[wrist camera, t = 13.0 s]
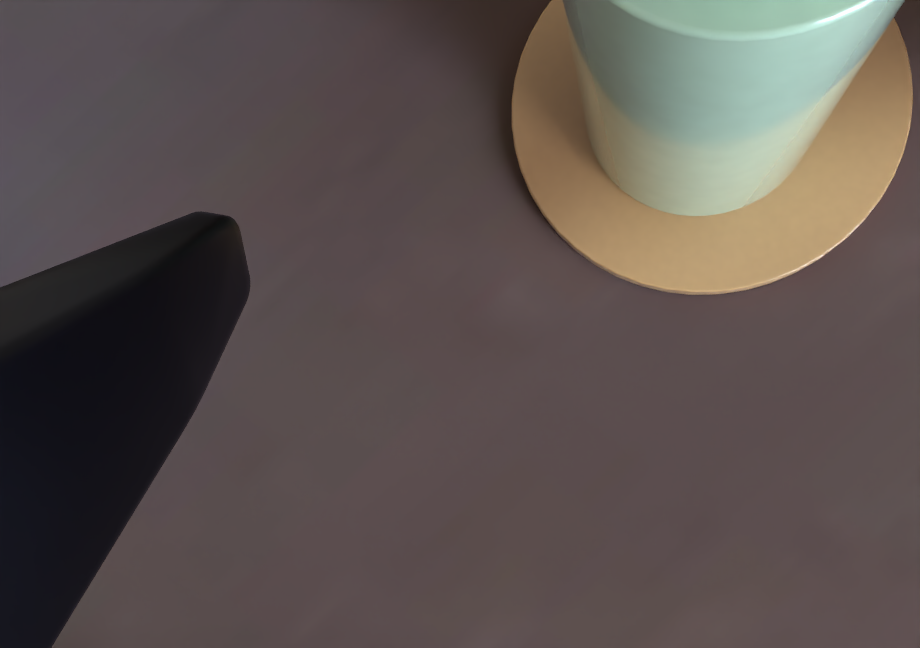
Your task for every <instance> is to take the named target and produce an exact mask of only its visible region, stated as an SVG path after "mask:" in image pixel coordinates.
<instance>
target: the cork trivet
mask: <svg viewBox="0 0 920 648" xmlns="http://www.w3.org/2000/svg"><path fill="white" fill-rule="evenodd" d="M912 105H913V92H912V74H911V69H910V64H909V59H908V53H907V49H906V46H905V44H904V41H903V38H902V35H901V32H900V30H899V27H898V25H897V23H896V21H895V19H894V18H893V19H892V21H891V22H890V24H889V25H888V27H887V28H886V30H885V31H884V33H883V35H882V36H881V38H880V39H879V41H878V42H877V44H876V45H875V47H874V48H873V50H872V51H871V53H870V55H869V56H868V58H867V59H866V61H865V62H864V64H863V65H862V67H861V68H860V70H859V71H858V73H857V75H856V76H855V78H854V79H853V81H852V82H851V84H850V85H849V87H848V88H847V90H846V91H845V93H844V95H843V96H842V98H841V99H840V101H839V102H838V104H837V105H836V107H835V108H834V110H833V111H832V113H831V114H830V116H829V118H828V119H827V121H826V122H825V124H824V125H823V127H822V128H821V130H820V131H819V133H818V134H817V136H816V138H815V139H814V141H813V142H812V144H811V145H810V147H809V148H808V150H807V151H806V153H805V154H804V156H803V158H802V159H801V161H800V162H799V163H798V165H797V166H796V167H795V169H794V170H793V171H792V172H791V174H790V175H789V176H788V177H787V178H786V179H785V180H784V181H783V182H782V183H781V184H780V185H779V186H777V187H776V188H775V189H773V190H772V191H771V192H770V193H768V194H767V195H765V196H764V197H762V198H760V199H758V200H757V201H755V202H753V203H751V204H749V205H746V206H744V207H742V208H739V209H736V210H733V211H729V212H726V213H721V214H715V215H709V216H685V215H676V214H672V213H667V212H663V211H660V210H657V209H654V208H651V207H649V206H647V205H645V204H643V203H641V202H639V201H637V200H635V199H634V198H632V197H631V196H629V195H628V194H626V193H625V192H624V191H622V190H621V189H620V188H619V187H618V186H617V185H616V184H615V183H614V182H613V181H612V180H611V179H610V178H609V176H608V175H607V174H606V173H605V172H604V170H603V169H602V167H601V165H600V164H599V162H598V161H597V159H596V156H595V154H594V152H593V150H592V148H591V144H590V141H589V137H588V134H587V129H586V123H585V118H584V113H583V107H582V102H581V97H580V91H579V86H578V81H577V75H576V70H575V65H574V59H573V54H572V49H571V43H570V38H569V33H568V27H567V22H566V17H565V11H564V6H563V1H562V0H551V2H550V3H549V4H548V6H547V7H546V8H545V10H544V11H543V12H542V14H541V16H540V18H539V19H538V21H537V23H536V25H535V26H534V28H533V30H532V32H531V33H530V36H529V38H528V40H527V43H526V45H525V48H524V50H523V52H522V55H521V58H520V61H519V65H518V69H517V72H516V76H515V81H514V88H513V95H512V114H511V126H512V133H513V141H514V149H515V152H516V156H517V160H518V163H519V167H520V171H521V173H522V175H523V178H524V180H525V182H526V185H527V187H528V189H529V192H530V194H531V196H532V198H533V199H534V201H535V203H536V204H537V206H538V208H539V209H540V211H541V213H542V214H543V216H544V217H545V219H546V220H547V221H548V222H549V224H550V225H551V226H552V227H553V229H554V230H555V231H556V232H557V234H558V235H559V236H560V237H561V238H562V239H564V240H565V241H566V242H567V243H568V244H569V245H570V246H571V247H572V248H573V249H574V250H575V251H576V252H578V253H579V254H580V255H582V256H583V257H585V258H586V259H587V260H589V261H590V262H592V263H593V264H594V265H596V266H598V267H599V268H601V269H603V270H605V271H607V272H609V273H611V274H612V275H614V276H616V277H618V278H621V279H624V280H626V281H629V282H632V283H634V284H637V285H639V286H643V287H647V288H651V289H655V290H660V291H664V292H671V293H680V294H689V295H706V294H723V293H730V292H737V291H744V290H748V289H752V288H755V287H759V286H763V285H766V284H770V283H772V282H775V281H777V280H780V279H782V278H784V277H787V276H789V275H792V274H794V273H796V272H798V271H800V270H801V269H803V268H805V267H807V266H808V265H810V264H812V263H814V262H815V261H817V260H819V259H820V258H821V257H823V256H824V255H825V254H827V253H828V252H829V251H831V250H832V249H833V248H835V247H836V246H837V245H839V244H840V243H841V242H843V241H844V240H845V239H846V238H847V237H848V236H849V235H850V234H851V233H852V232H853V231H854V230H855V229H856V228H857V227H858V226H859V225H860V224H861V223H862V222H863V221H864V220H865V219H866V217H867V216H868V215H869V214H870V212H871V211H872V210H873V208H874V207H875V206H876V205H877V203H878V202H879V201H880V199H881V198H882V196H883V194H884V193H885V191H886V189H887V187H888V186H889V184H890V182H891V181H892V179H893V177H894V175H895V172H896V170H897V168H898V165H899V163H900V160H901V158H902V155H903V153H904V149H905V145H906V142H907V138H908V134H909V130H910V124H911V115H912Z"/></svg>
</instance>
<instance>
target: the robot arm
mask: <svg viewBox="0 0 920 648" xmlns="http://www.w3.org/2000/svg"><path fill="white" fill-rule="evenodd" d="M249 291H250V275H249V271H248V266H247V261H246V256H245V252H244V247H243V242H242V238H241V233H240V229H239V226H238V224H237V223H236V221H235V220H234V219H233V218H231V217H230V216H226V215H220V214H214V213H208V212H194V213H191V214H188V215H186V216H183V217H181V218H178V219H175V220H173V221H170V222H168V223H165V224H163V225H160V226H157V227H155V228H152V229H150V230H147V231H145V232H142V233H139V234H137V235H134V236H132V237H129V238H127V239H124V240H121V241H119V242H116V243H114V244H111V245H109V246H106V247H103V248H101V249H98V250H96V251H93V252H91V253H88V254H85V255H83V256H80V257H78V258H75V259H73V260H70V261H67V262H65V263H62V264H60V265H57V266H55V267H52V268H50V269H47V270H44V271H42V272H39V273H37V274H34V275H32V276H29V277H26V278H24V279H21V280H19V281H16V282H14V283H11V284H8V285H6V286H3V287H1V288H0V648H51V647H52V645H53V644H54V642H55V640H56V639H57V637H58V636H59V634H60V632H61V631H62V629H63V627H64V626H65V624H66V622H67V621H68V619H69V618H70V616H71V614H72V613H73V611H74V609H75V608H76V606H77V604H78V603H79V601H80V599H81V598H82V596H83V595H84V593H85V591H86V590H87V588H88V586H89V585H90V583H91V581H92V580H93V578H94V577H95V575H96V573H97V572H98V570H99V568H100V567H101V565H102V563H103V562H104V560H105V559H106V557H107V555H108V554H109V552H110V550H111V549H112V547H113V545H114V544H115V542H116V540H117V539H118V537H119V536H120V534H121V532H122V531H123V529H124V527H125V526H126V524H127V522H128V521H129V519H130V518H131V516H132V514H133V513H134V511H135V509H136V508H137V506H138V504H139V503H140V501H141V500H142V498H143V496H144V495H145V493H146V491H147V490H148V488H149V486H150V485H151V483H152V481H153V480H154V478H155V477H156V475H157V473H158V472H159V470H160V468H161V467H162V465H163V463H164V462H165V460H166V459H167V457H168V455H169V454H170V452H171V450H172V449H173V447H174V445H175V444H176V442H177V441H178V439H179V437H180V436H181V434H182V432H183V431H184V429H185V427H186V426H187V424H188V422H189V420H190V419H191V417H192V415H193V413H194V412H195V410H196V408H197V406H198V404H199V402H200V400H201V398H202V396H203V394H204V392H205V390H206V388H207V386H208V383H209V381H210V379H211V377H212V375H213V373H214V371H215V368H216V366H217V364H218V362H219V360H220V358H221V355H222V353H223V351H224V349H225V347H226V345H227V343H228V340H229V338H230V336H231V334H232V332H233V330H234V328H235V325H236V323H237V321H238V319H239V317H240V315H241V312H242V310H243V308H244V306H245V304H246V301H247V299H248V295H249Z"/></svg>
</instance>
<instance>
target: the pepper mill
mask: <svg viewBox="0 0 920 648" xmlns="http://www.w3.org/2000/svg"><path fill="white" fill-rule="evenodd" d="M562 1H563V6H564V11H565V17H566V22H567V27H568V33H569V38H570V43H571V49H572V54H573V59H574V65H575V70H576V75H577V81H578V86H579V91H580V97H581V102H582V107H583V113H584V118H585V123H586V129H587V134H588V137H589V141H590V144H591V148H592V150H593V152H594V154H595V156H596V159H597V161H598V162H599V164H600V165H601V167H602V169H603V170H604V172H605V173H606V174H607V175H608V176H609V178H610V179H611V180H612V181H613V182H614V183H615V184H616V185H617V186H618V187H619V188H620V189H621V190H622V191H624V192H625V193H626V194H628V195H629V196H631V197H632V198H634V199H635V200H637V201H639V202H641V203H643V204H645V205H647V206H649V207H651V208H654V209H657V210H660V211H663V212H667V213H672V214H676V215H685V216H709V215H715V214H721V213H726V212H729V211H733V210H736V209H739V208H742V207H744V206H746V205H749V204H751V203H753V202H755V201H757V200H758V199H760V198H762V197H764V196H765V195H767V194H768V193H770V192H771V191H772V190H773V189H775V188H776V187H777V186H779V185H780V184H781V183H782V182H783V181H784V180H785V179H786V178H787V177H788V176H789V175H790V174H791V172H792V171H793V170H794V169H795V167H796V166H797V165H798V163H799V162H800V161H801V159H802V158H803V156H804V154H805V153H806V151H807V150H808V148H809V147H810V145H811V144H812V142H813V141H814V139H815V138H816V136H817V134H818V133H819V131H820V130H821V128H822V127H823V125H824V124H825V122H826V121H827V119H828V118H829V116H830V114H831V113H832V111H833V110H834V108H835V107H836V105H837V104H838V102H839V101H840V99H841V98H842V96H843V95H844V93H845V91H846V90H847V88H848V87H849V85H850V84H851V82H852V81H853V79H854V78H855V76H856V75H857V73H858V71H859V70H860V68H861V67H862V65H863V64H864V62H865V61H866V59H867V58H868V56H869V55H870V53H871V51H872V50H873V48H874V47H875V45H876V44H877V42H878V41H879V39H880V38H881V36H882V35H883V33H884V31H885V30H886V28H887V27H888V25H889V24H890V22H891V21H892V19H893V18H894V16H895V15H896V13H897V11H898V10H899V8H900V7H901V5H902V4H903V2H904V1H905V0H562Z"/></svg>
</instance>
